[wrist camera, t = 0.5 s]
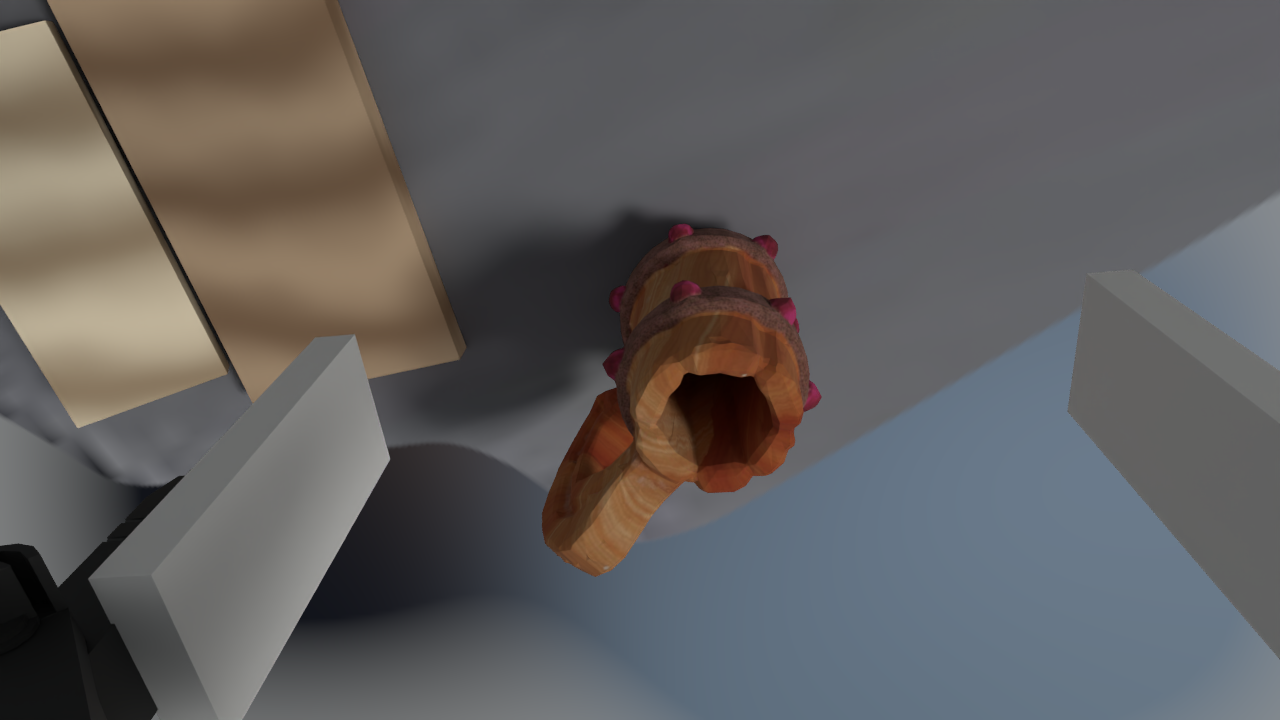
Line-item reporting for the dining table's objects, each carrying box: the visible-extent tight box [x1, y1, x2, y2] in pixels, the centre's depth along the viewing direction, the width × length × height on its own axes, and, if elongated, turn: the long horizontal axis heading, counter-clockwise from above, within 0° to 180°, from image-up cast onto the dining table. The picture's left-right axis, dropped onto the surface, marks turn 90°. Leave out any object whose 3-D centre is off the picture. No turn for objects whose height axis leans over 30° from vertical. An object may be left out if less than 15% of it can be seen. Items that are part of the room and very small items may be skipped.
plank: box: [0, 21, 229, 428], centre depth 40 cm, size 18×8×2 cm, turn 14°
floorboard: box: [47, 0, 466, 403], centre depth 40 cm, size 22×12×2 cm, turn 14°
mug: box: [542, 224, 821, 577], centre depth 37 cm, size 15×8×15 cm, turn 139°
